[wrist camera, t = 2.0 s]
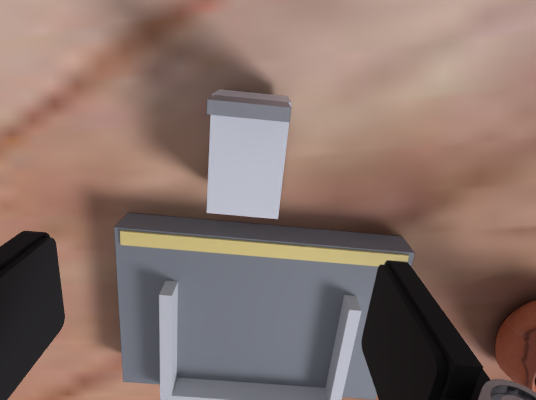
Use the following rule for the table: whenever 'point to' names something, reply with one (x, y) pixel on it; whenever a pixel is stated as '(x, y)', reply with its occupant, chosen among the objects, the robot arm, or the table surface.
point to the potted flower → (518, 346)
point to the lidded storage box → (246, 152)
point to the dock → (246, 307)
